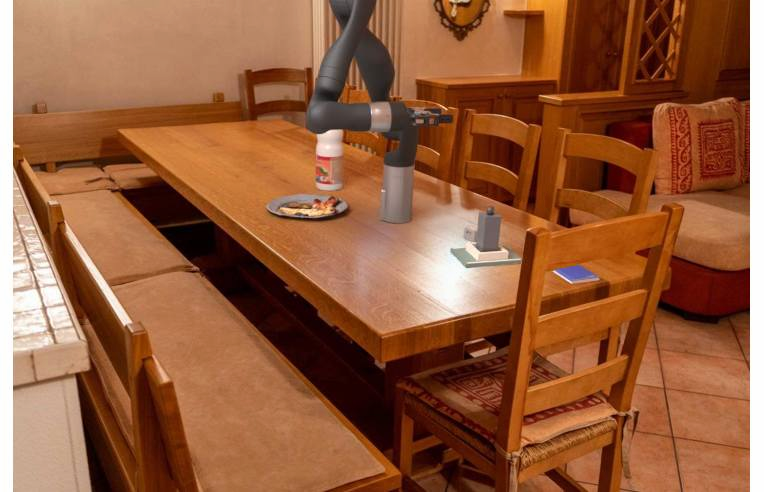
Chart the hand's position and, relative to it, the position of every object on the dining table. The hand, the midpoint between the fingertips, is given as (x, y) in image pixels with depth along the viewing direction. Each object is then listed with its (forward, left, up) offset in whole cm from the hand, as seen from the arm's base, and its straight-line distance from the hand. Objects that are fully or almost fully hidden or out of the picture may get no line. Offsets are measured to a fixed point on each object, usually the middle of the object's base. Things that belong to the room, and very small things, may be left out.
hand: (446, 115), depth 176 cm
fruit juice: (-41, +50, -36) cm, 74 cm away
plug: (+13, -6, -35) cm, 38 cm away
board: (+13, -6, -36) cm, 39 cm away
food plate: (-42, +23, -36) cm, 60 cm away
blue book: (+35, -11, -37) cm, 52 cm away
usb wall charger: (+11, +9, -36) cm, 39 cm away
